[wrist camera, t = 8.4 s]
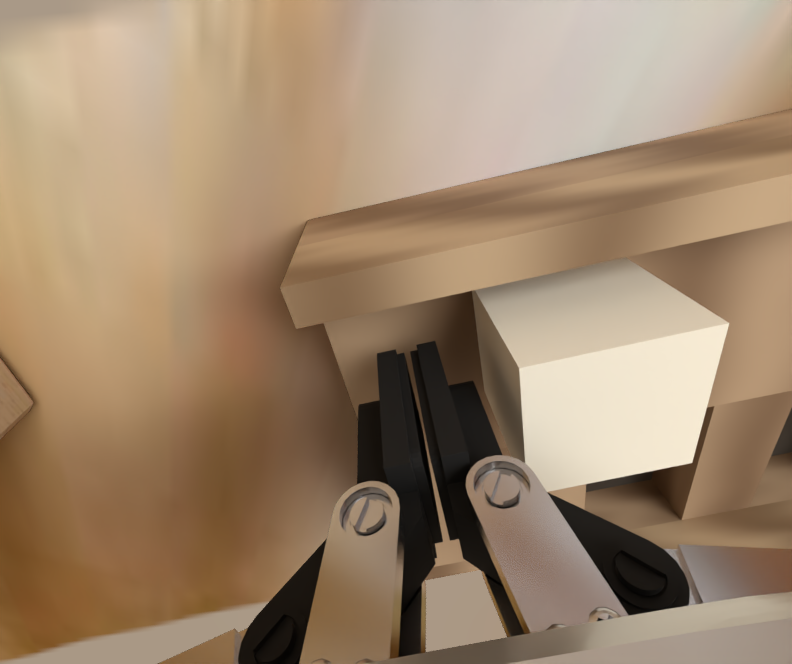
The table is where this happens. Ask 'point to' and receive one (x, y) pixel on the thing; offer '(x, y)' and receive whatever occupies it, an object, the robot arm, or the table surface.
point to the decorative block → (11, 400)
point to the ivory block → (597, 371)
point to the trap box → (581, 246)
